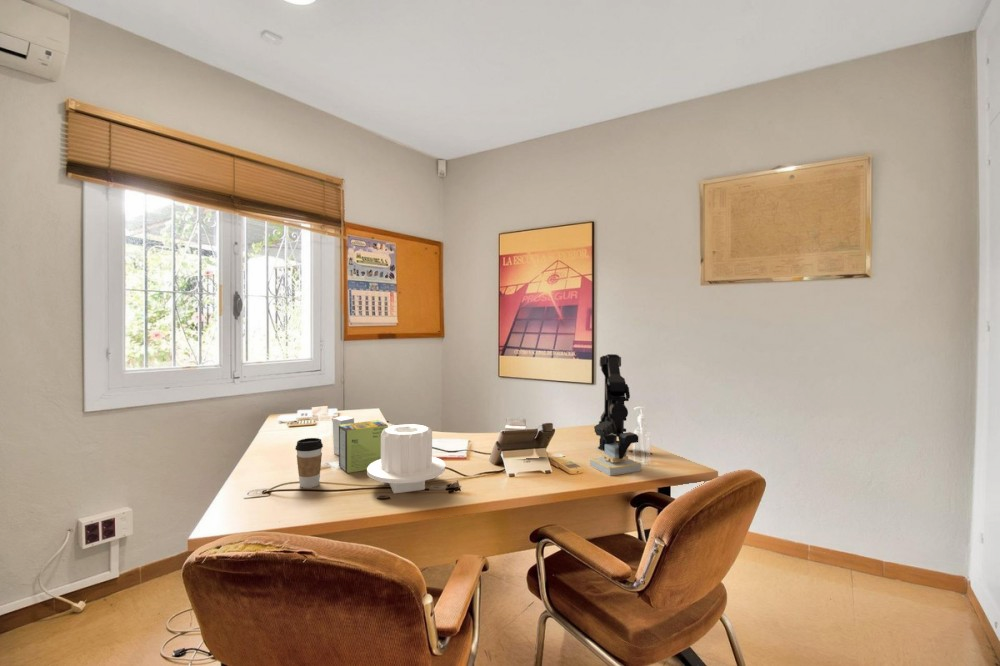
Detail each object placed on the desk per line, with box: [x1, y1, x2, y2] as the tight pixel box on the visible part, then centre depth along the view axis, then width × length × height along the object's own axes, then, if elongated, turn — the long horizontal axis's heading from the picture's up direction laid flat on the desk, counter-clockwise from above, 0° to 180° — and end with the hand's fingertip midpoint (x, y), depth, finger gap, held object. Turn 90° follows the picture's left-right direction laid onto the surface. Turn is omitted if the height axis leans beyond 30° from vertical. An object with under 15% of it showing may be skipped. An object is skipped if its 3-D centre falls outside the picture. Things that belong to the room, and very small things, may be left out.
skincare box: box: [331, 415, 355, 456], centre depth 187 cm, size 8×6×15 cm
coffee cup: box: [294, 437, 324, 489], centre depth 153 cm, size 8×8×15 cm
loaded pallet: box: [601, 443, 629, 463], centre depth 173 cm, size 7×6×5 cm
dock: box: [589, 457, 642, 477], centre depth 173 cm, size 14×12×3 cm
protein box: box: [338, 419, 389, 474], centre depth 173 cm, size 10×15×16 cm
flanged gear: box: [366, 423, 446, 494], centre depth 152 cm, size 25×25×19 cm
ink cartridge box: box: [504, 417, 527, 432], centre depth 188 cm, size 9×5×15 cm, turn 84°
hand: (615, 456), depth 173 cm, fingers closed on loaded pallet, 6 cm apart
